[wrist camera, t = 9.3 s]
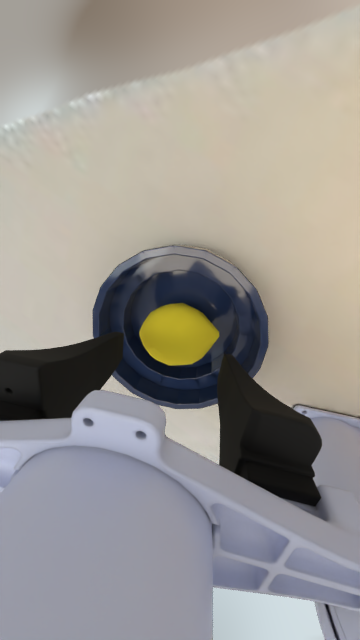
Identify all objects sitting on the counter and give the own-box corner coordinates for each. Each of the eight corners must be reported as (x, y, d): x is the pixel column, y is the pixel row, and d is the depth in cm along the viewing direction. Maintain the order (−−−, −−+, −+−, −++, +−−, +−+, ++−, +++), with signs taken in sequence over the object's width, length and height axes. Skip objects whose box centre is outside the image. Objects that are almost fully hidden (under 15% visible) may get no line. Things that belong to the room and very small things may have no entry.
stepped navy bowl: (276, 260, 17) (297, 265, 13) (235, 390, 23) (240, 423, 18) (118, 234, 19) (91, 231, 14) (113, 364, 24) (93, 390, 20)
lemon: (150, 345, 22) (131, 376, 17) (145, 295, 20) (123, 313, 15) (217, 348, 21) (219, 382, 16) (219, 296, 19) (222, 315, 14)
